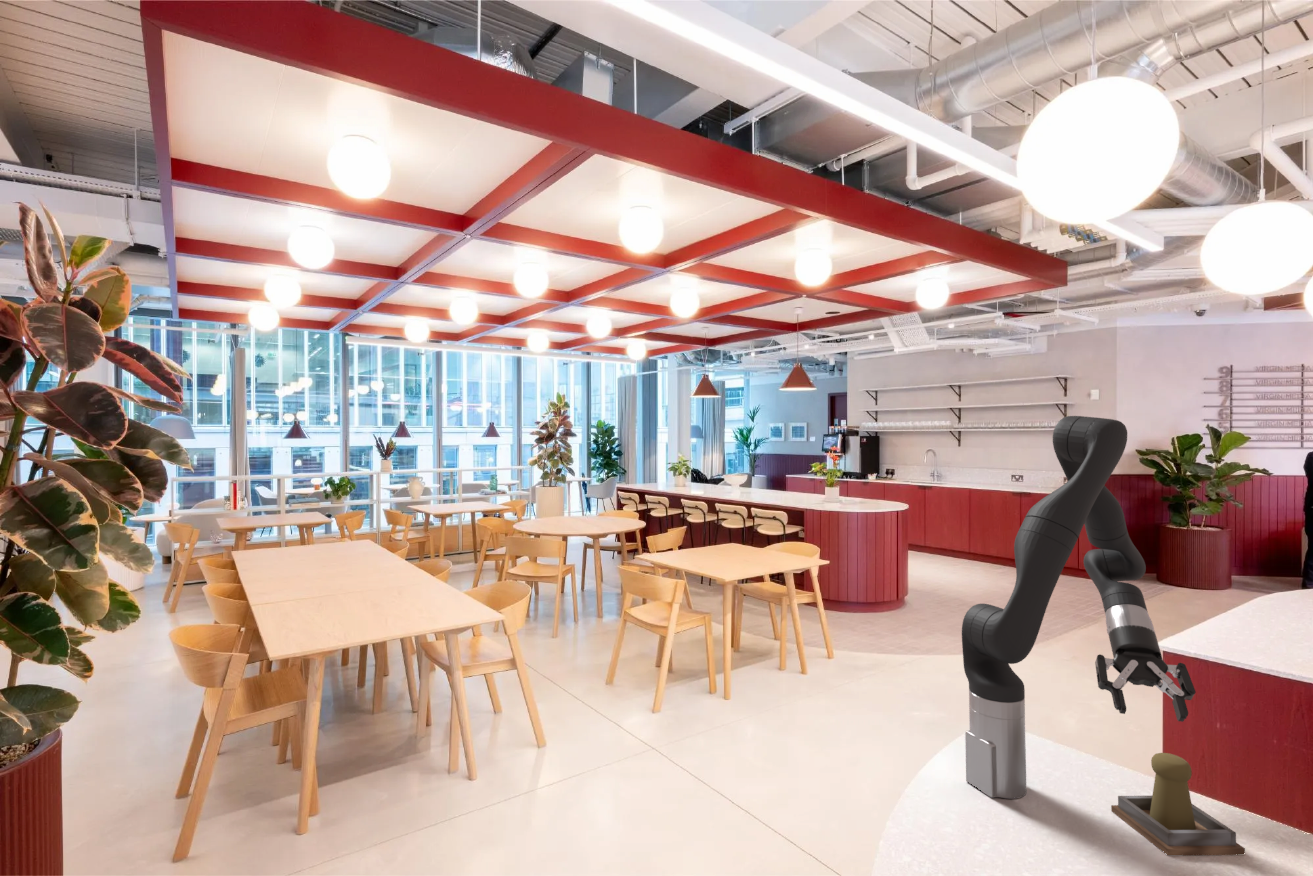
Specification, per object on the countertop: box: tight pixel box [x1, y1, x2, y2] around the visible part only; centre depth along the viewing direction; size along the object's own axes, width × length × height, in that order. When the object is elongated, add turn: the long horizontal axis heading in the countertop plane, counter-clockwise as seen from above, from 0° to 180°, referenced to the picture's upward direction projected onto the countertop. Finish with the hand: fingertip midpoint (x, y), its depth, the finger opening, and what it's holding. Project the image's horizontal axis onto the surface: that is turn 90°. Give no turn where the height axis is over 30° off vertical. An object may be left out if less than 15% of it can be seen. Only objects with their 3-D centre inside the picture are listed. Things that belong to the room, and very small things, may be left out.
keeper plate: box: [1110, 795, 1246, 856], centre depth 103 cm, size 12×12×3 cm
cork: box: [1150, 752, 1196, 830], centre depth 104 cm, size 6×6×11 cm
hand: (1152, 715), depth 113 cm, fingers open, 8 cm apart
